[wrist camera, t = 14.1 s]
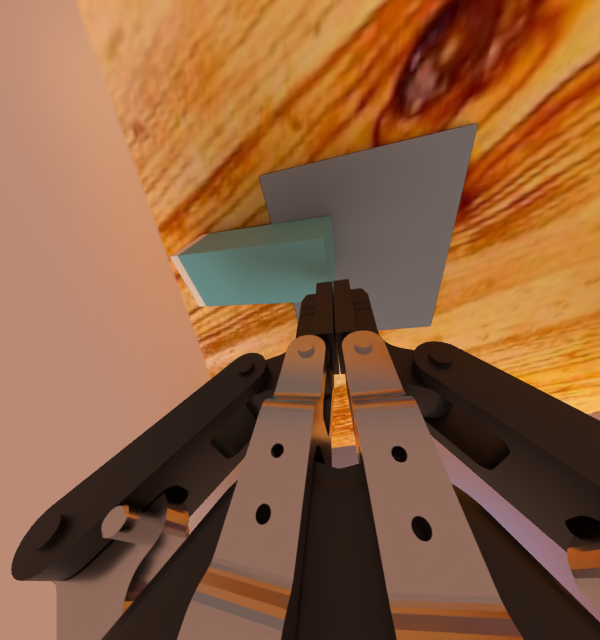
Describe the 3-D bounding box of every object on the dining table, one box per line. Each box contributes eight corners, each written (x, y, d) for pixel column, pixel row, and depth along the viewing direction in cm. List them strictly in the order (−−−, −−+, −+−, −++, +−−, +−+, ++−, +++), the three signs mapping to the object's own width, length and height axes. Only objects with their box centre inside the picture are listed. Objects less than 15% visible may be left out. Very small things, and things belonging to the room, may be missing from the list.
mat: (471, 123, 12) (477, 122, 11) (428, 321, 20) (430, 326, 20) (260, 175, 14) (258, 176, 13) (302, 332, 23) (302, 336, 22)
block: (323, 238, 11) (169, 256, 14) (331, 300, 14) (199, 306, 16) (330, 215, 14) (202, 234, 17) (335, 270, 17) (223, 279, 19)
